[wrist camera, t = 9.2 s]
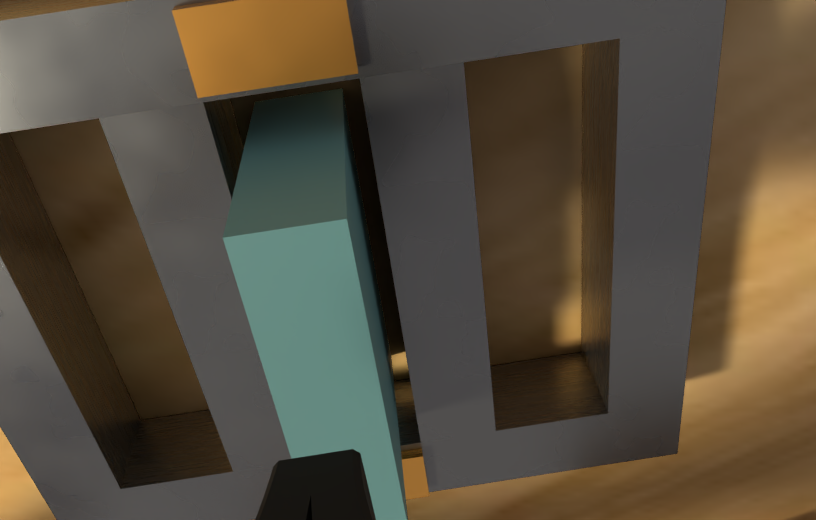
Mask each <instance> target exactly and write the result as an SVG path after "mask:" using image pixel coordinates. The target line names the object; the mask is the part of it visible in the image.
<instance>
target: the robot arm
mask: <svg viewBox="0 0 816 520" xmlns="http://www.w3.org/2000/svg"><path fill="white" fill-rule="evenodd" d="M255 520H376V517H375V513H374V509H373V505H372V500H371V496H370V492H369V488H368V483H367V479H366V475H365V471H364V466H363V462H362V458H361V454H360V453H359V452H357V451H355V450H354V449H349V450H343V451H337V452H330V453H324V454H318V455H311V456H305V457H299V458H292V459H286V460H280V461H278V462H277V463H276V464H275V465H274V466H273V469H272V472H271V476H270V479H269V482H268V485H267V488H266V491H265V494H264V497H263V500H262V503H261V505H260V508H259V511H258V514H257V516H256V519H255Z"/></svg>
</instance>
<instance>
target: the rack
mask: <svg viewBox="0 0 816 520" xmlns="http://www.w3.org/2000/svg"><path fill="white" fill-rule="evenodd" d="M725 8H726V0H0V427H1V429H2V430H3V432H4V434H5V435H6V437H7V439H8V440H9V442H10V444H11V445H12V447H13V449H14V450H15V452H16V453H17V455H18V457H19V458H20V460H21V462H22V463H23V465H24V467H25V468H26V470H27V472H28V473H29V475H30V476H31V478H32V480H33V481H34V483H35V485H36V486H37V488H38V490H39V491H40V493H41V495H42V496H43V498H44V499H45V501H46V503H47V504H48V506H49V508H50V509H51V511H52V513H53V514H54V516H55V518H56V519H57V520H253V519H256V516H257V514H258V511H259V508H260V505H261V503H262V500H263V497H264V494H265V491H266V488H267V485H268V482H269V479H270V476H271V472H272V469H273V466H274V465H275V464H276V463H277V462H278V461H280V460H286V459H291V456H290V453H289V449H288V446H287V443H286V440H285V437H284V433H283V430H282V427H281V424H280V420H279V417H278V414H277V411H276V408H275V404H274V401H273V398H272V395H271V392H270V388H269V385H268V382H267V379H266V375H265V372H264V369H263V366H262V363H261V359H260V356H259V353H258V350H257V347H256V343H255V340H254V337H253V334H252V331H251V327H250V324H249V321H248V318H247V314H246V311H245V308H244V305H243V302H242V298H241V295H240V292H239V289H238V286H237V282H236V279H235V276H234V273H233V269H232V266H231V263H230V260H229V257H228V253H227V250H226V247H225V244H224V241H223V234H224V230H225V226H226V222H227V217H228V213H229V209H230V205H231V201H232V196H233V192H234V188H235V184H236V180H237V175H238V171H239V167H240V163H241V158H242V154H243V150H244V148H243V144H242V141H241V137H240V133H239V130H238V126H237V122H236V119H235V115H234V111H233V108H232V104H231V100H230V98H235V97H242V96H248V95H255V94H261V93H268V92H274V91H281V90H287V89H294V88H300V87H307V86H313V85H320V84H326V83H333V82H339V81H346V80H352V79H359V78H360V84H361V90H362V96H363V101H364V107H365V113H366V119H367V125H368V131H369V137H370V143H371V149H372V155H373V161H374V167H375V173H376V179H377V185H378V191H379V197H380V203H381V209H382V215H383V220H384V226H385V232H386V238H387V244H388V250H389V256H390V262H391V268H392V274H393V280H394V286H395V292H396V298H397V304H398V310H399V316H400V322H401V328H402V333H403V339H404V345H405V351H406V357H407V363H408V369H409V375H410V379H405V380H399V381H394V388H395V398H396V408H397V418H398V428H399V437H400V447H401V457H402V467H403V477H404V486H405V496H406V500H408V499H414V498H421V497H427V496H429V492H433V491H440V490H446V489H452V488H459V487H465V486H472V485H478V484H485V483H491V482H497V481H504V480H510V479H517V478H523V477H530V476H536V475H542V474H549V473H555V472H562V471H568V470H575V469H581V468H587V467H594V466H600V465H607V464H613V463H620V462H626V461H632V460H639V459H645V458H652V457H658V456H665V455H671V454H677V452H678V443H679V433H680V424H681V415H682V406H683V396H684V387H685V378H686V369H687V359H688V350H689V341H690V332H691V322H692V313H693V304H694V295H695V285H696V276H697V267H698V258H699V248H700V239H701V230H702V221H703V211H704V202H705V193H706V184H707V174H708V165H709V156H710V147H711V137H712V128H713V119H714V109H715V100H716V91H717V82H718V72H719V63H720V54H721V45H722V35H723V26H724V17H725ZM580 44H583V55H582V328H581V352H579V353H573V354H566V355H560V356H553V357H547V358H540V359H534V360H528V361H521V362H515V363H508V364H502V365H495V366H490V358H489V347H488V335H487V324H486V312H485V301H484V289H483V278H482V266H481V255H480V243H479V232H478V220H477V209H476V197H475V185H474V174H473V162H472V151H471V139H470V128H469V116H468V105H467V93H466V82H465V70H464V62H470V61H476V60H483V59H489V58H496V57H502V56H509V55H515V54H522V53H528V52H535V51H541V50H548V49H554V48H561V47H567V46H574V45H580ZM98 118H99V121H100V123H101V126H102V129H103V131H104V134H105V136H106V139H107V142H108V144H109V147H110V150H111V152H112V155H113V157H114V160H115V163H116V165H117V168H118V171H119V173H120V176H121V178H122V181H123V184H124V186H125V189H126V192H127V194H128V197H129V199H130V202H131V205H132V207H133V210H134V213H135V215H136V218H137V220H138V223H139V226H140V228H141V231H142V234H143V236H144V239H145V241H146V244H147V247H148V249H149V252H150V255H151V257H152V260H153V262H154V265H155V268H156V270H157V273H158V276H159V278H160V281H161V283H162V286H163V289H164V291H165V294H166V297H167V299H168V302H169V304H170V307H171V310H172V312H173V315H174V318H175V320H176V323H177V325H178V328H179V331H180V333H181V336H182V338H183V341H184V344H185V346H186V349H187V352H188V354H189V357H190V359H191V362H192V365H193V367H194V370H195V373H196V375H197V378H198V380H199V383H200V386H201V388H202V391H203V394H204V396H205V399H206V401H207V404H208V407H209V409H210V410H205V411H198V412H192V413H186V414H179V415H173V416H166V417H160V418H153V419H147V420H140V418H139V415H138V413H137V411H136V409H135V407H134V405H133V402H132V400H131V398H130V396H129V394H128V391H127V389H126V387H125V385H124V383H123V380H122V378H121V376H120V374H119V372H118V370H117V367H116V365H115V363H114V361H113V359H112V356H111V354H110V352H109V350H108V348H107V345H106V343H105V341H104V339H103V337H102V335H101V332H100V330H99V328H98V326H97V324H96V321H95V319H94V317H93V315H92V313H91V311H90V308H89V306H88V304H87V302H86V300H85V297H84V295H83V293H82V291H81V289H80V286H79V284H78V282H77V280H76V278H75V276H74V273H73V271H72V269H71V267H70V265H69V262H68V260H67V258H66V256H65V254H64V251H63V249H62V247H61V245H60V243H59V241H58V238H57V236H56V234H55V232H54V230H53V227H52V225H51V223H50V221H49V219H48V217H47V214H46V212H45V210H44V208H43V206H42V203H41V201H40V199H39V197H38V195H37V192H36V190H35V188H34V186H33V184H32V182H31V179H30V177H29V175H28V173H27V171H26V168H25V166H24V164H23V162H22V160H21V157H20V155H19V153H18V151H17V149H16V147H15V144H14V142H13V140H12V138H11V136H10V133H9V132H14V131H20V130H27V129H33V128H40V127H46V126H53V125H59V124H66V123H72V122H79V121H85V120H92V119H98Z"/></svg>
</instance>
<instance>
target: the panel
mask: <svg viewBox="0 0 816 520" xmlns="http://www.w3.org/2000/svg"><path fill="white" fill-rule="evenodd" d="M223 241H224V244H225V247H226V250H227V253H228V257H229V260H230V263H231V266H232V269H233V273H234V276H235V279H236V282H237V286H238V289H239V292H240V295H241V298H242V302H243V305H244V308H245V311H246V314H247V318H248V321H249V324H250V327H251V331H252V334H253V337H254V340H255V343H256V347H257V350H258V353H259V356H260V359H261V363H262V366H263V369H264V372H265V375H266V379H267V382H268V385H269V388H270V392H271V395H272V398H273V401H274V404H275V408H276V411H277V414H278V417H279V420H280V424H281V427H282V430H283V433H284V437H285V440H286V443H287V446H288V449H289V453H290V456H291V459H292V458H299V457H305V456H311V455H318V454H324V453H330V452H337V451H343V450H349V449H354V450H355V451H357V452H359V453H360V454H361V458H362V462H363V466H364V471H365V475H366V479H367V483H368V488H369V492H370V496H371V500H372V505H373V509H374V513H375V517H376V520H408V516H407V506H406V496H405V486H404V477H403V467H402V457H401V447H400V437H399V428H398V418H397V408H396V398H395V388H394V379H393V369H392V359H391V352H390V346H389V341H388V336H387V330H386V325H385V319H384V314H383V308H382V303H381V297H380V292H379V286H378V281H377V275H376V270H375V264H374V259H373V253H372V248H371V242H370V237H369V231H368V226H367V220H366V215H365V209H364V204H363V198H362V193H361V187H360V182H359V176H358V171H357V165H356V160H355V154H354V149H353V143H352V138H351V132H350V127H349V121H348V116H347V110H346V105H345V99H344V94H343V89H342V88H341V89H335V90H328V91H322V92H315V93H309V94H302V95H296V96H289V97H283V98H276V99H269V100H263V101H256V102H255V104H254V108H253V112H252V116H251V121H250V125H249V129H248V133H247V137H246V142H245V146H244V150H243V154H242V158H241V163H240V167H239V171H238V175H237V180H236V184H235V188H234V192H233V196H232V201H231V205H230V209H229V213H228V217H227V222H226V226H225V230H224V234H223Z"/></svg>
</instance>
